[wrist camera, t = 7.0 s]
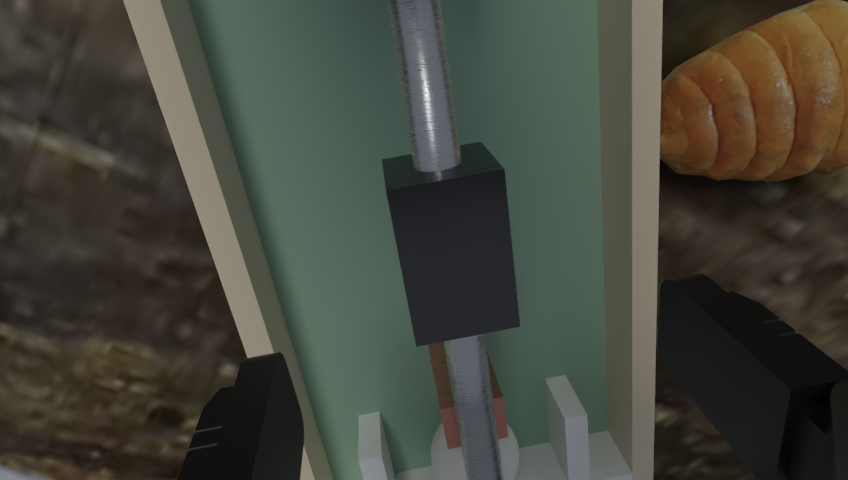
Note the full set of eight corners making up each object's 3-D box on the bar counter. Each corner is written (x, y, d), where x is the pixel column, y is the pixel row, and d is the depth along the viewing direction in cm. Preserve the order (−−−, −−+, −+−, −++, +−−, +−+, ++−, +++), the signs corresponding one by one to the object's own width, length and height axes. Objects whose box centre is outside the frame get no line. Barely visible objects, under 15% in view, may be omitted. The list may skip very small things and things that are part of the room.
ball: (432, 474, 22) (443, 529, 24) (529, 455, 22) (532, 511, 24) (420, 398, 26) (431, 452, 28) (504, 381, 26) (509, 437, 28)
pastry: (642, 199, 25) (689, 231, 21) (629, 45, 22) (679, 51, 19) (845, 145, 25) (925, 167, 21) (856, -16, 22) (950, -21, 19)
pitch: (134, -104, 18) (-32, -183, 10) (607, -181, 19) (779, -309, 11) (322, 487, 29) (308, 660, 21) (617, 428, 30) (706, 576, 22)
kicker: (323, -152, 17) (302, -237, 11) (426, -169, 17) (461, -262, 11) (436, 440, 27) (459, 566, 21) (501, 427, 27) (542, 549, 21)
